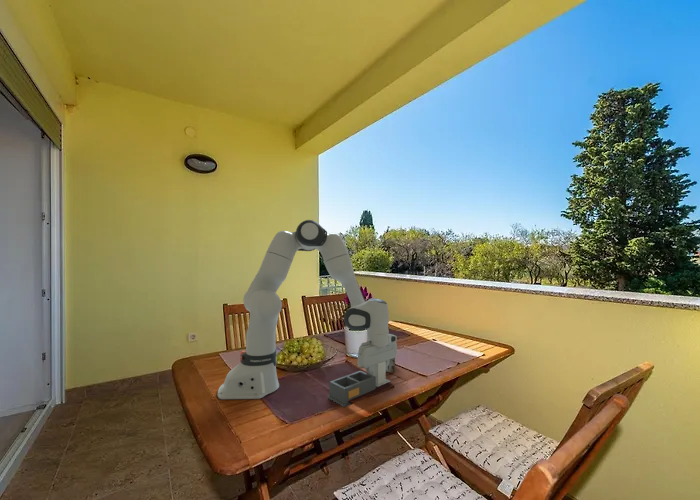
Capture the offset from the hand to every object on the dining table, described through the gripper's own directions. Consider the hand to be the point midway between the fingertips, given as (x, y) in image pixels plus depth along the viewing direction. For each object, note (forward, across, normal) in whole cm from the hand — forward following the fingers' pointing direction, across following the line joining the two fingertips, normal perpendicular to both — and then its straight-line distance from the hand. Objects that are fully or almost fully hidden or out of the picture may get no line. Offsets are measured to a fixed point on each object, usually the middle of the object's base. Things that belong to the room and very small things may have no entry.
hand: (377, 373), depth 120 cm
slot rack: (+5, -9, 0) cm, 10 cm away
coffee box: (+5, +14, +7) cm, 16 cm away
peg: (+3, 0, 0) cm, 3 cm away
